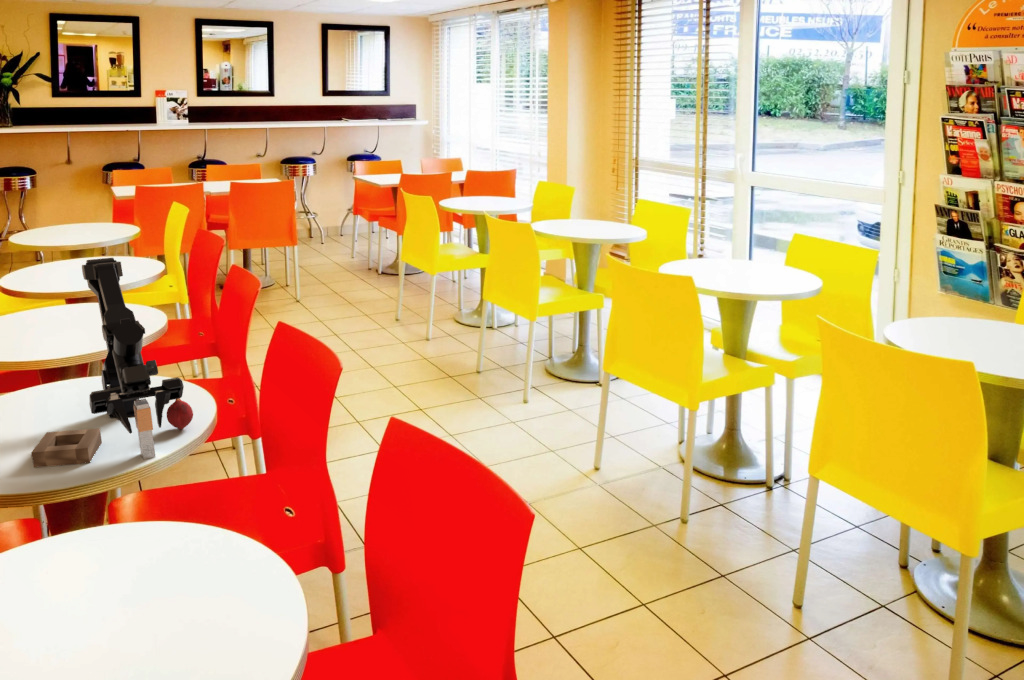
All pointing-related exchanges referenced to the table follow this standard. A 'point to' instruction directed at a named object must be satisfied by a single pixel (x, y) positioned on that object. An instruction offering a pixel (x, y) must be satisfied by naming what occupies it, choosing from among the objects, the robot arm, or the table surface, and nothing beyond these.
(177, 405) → the onion
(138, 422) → the banded grey brick
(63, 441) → the block
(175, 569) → the table surface
